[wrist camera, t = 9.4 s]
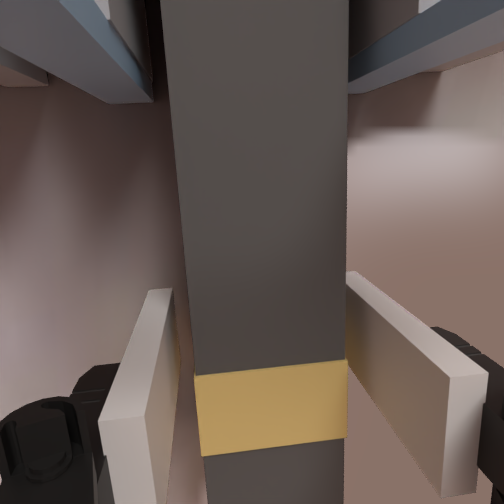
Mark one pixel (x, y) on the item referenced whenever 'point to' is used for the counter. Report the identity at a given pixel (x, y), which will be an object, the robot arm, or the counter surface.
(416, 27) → the blue bezel
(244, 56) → the grey banded bar
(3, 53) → the grey slotted rack
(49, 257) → the counter surface
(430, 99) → the counter surface
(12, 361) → the counter surface
